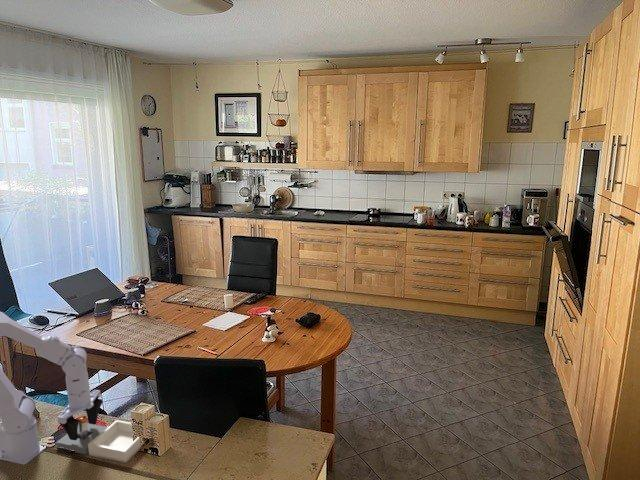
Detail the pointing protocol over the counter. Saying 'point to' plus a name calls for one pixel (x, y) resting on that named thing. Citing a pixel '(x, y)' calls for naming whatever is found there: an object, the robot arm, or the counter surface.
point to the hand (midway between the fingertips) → (83, 431)
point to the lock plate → (81, 444)
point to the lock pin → (82, 427)
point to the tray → (115, 443)
